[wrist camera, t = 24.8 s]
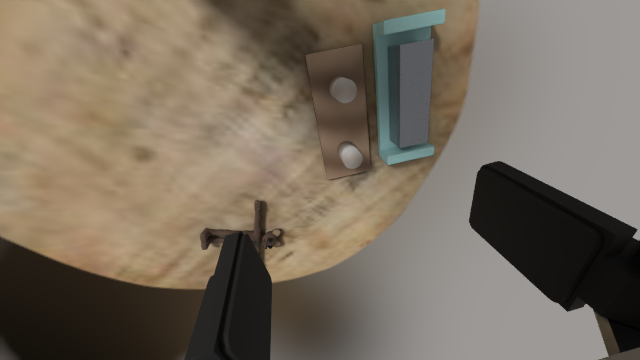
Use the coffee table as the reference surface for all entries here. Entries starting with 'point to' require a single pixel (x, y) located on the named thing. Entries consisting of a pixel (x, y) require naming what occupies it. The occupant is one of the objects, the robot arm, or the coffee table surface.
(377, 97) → the slot holder
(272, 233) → the bear figurine
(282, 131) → the coffee table surface
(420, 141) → the steel bar
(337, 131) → the peg stand
